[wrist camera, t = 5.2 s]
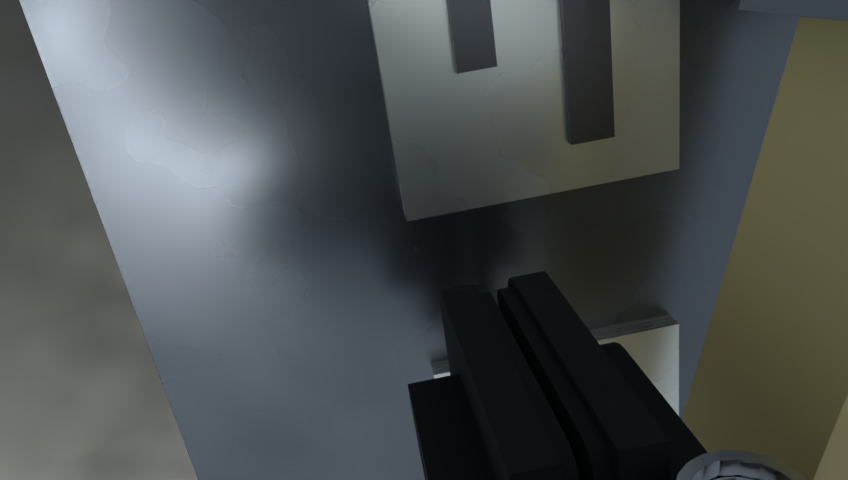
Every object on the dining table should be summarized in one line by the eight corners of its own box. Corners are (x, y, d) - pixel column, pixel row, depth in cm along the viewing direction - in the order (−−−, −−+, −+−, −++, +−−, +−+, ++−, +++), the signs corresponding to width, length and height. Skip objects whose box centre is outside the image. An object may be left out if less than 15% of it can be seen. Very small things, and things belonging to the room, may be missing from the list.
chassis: (-103, -423, 8) (-386, -681, 5) (959, -551, 9) (1310, -839, 6) (318, 755, 18) (316, 931, 14) (814, 633, 18) (916, 773, 15)
